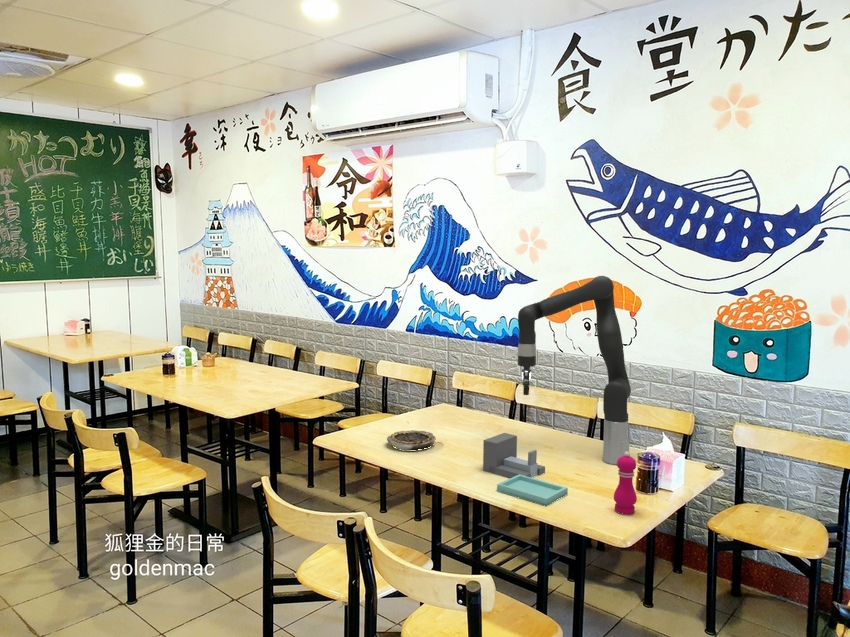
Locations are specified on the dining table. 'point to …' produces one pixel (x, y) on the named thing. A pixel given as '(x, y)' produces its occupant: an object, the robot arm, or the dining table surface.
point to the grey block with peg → (524, 463)
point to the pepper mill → (625, 485)
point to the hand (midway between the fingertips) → (526, 392)
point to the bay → (503, 456)
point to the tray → (532, 489)
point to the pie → (411, 440)
